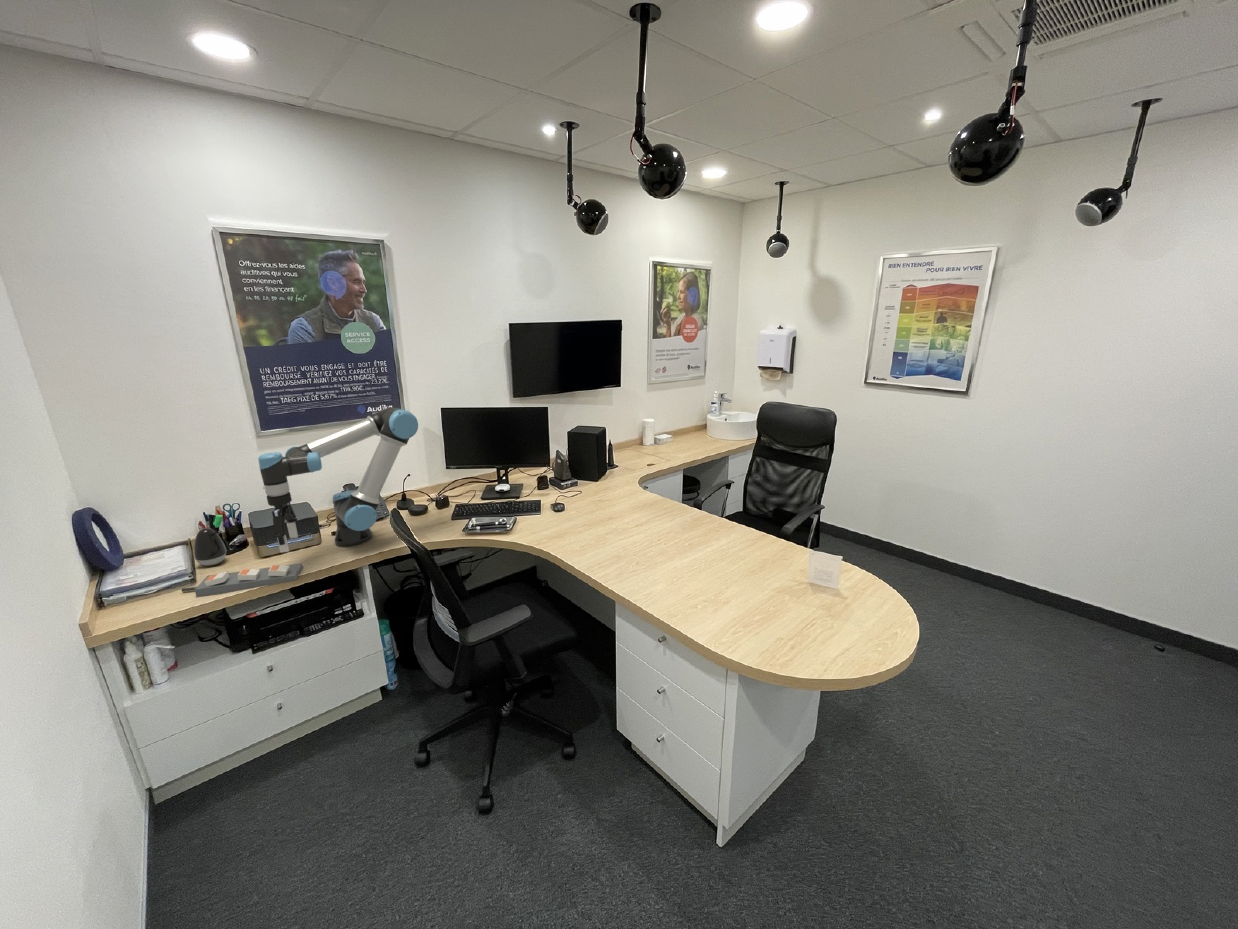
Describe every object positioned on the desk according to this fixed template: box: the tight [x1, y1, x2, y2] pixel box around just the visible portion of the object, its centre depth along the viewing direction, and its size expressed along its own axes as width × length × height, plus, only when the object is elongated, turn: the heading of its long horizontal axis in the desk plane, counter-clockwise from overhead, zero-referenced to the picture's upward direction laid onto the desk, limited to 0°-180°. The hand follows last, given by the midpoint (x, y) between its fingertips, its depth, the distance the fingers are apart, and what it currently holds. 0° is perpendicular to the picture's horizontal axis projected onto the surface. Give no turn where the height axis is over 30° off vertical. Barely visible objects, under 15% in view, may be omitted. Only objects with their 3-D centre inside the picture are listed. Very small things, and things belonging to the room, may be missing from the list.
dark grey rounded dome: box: [193, 527, 228, 567], centre depth 199 cm, size 10×10×15 cm
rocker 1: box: [205, 571, 229, 587], centre depth 179 cm, size 6×5×2 cm
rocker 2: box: [238, 568, 261, 580], centre depth 182 cm, size 6×5×2 cm
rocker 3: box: [268, 564, 289, 576], centre depth 186 cm, size 6×5×2 cm
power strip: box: [181, 562, 304, 598], centre depth 184 cm, size 37×11×3 cm, turn 110°
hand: (289, 544), depth 191 cm, fingers open, 13 cm apart
